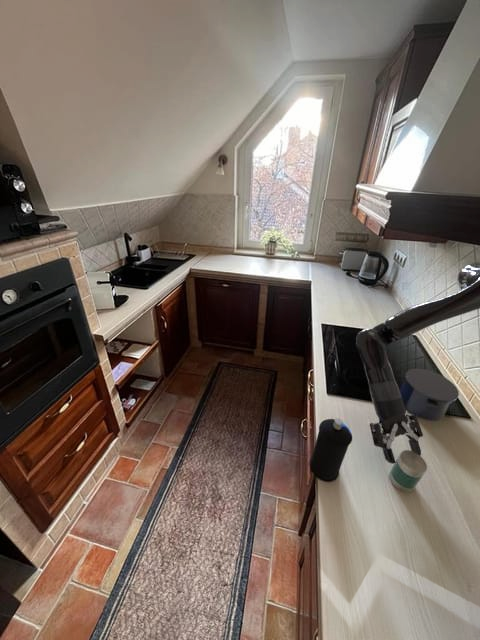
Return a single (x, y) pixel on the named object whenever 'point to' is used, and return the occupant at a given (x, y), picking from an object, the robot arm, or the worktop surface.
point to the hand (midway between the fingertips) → (404, 459)
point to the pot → (427, 394)
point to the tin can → (407, 471)
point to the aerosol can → (330, 449)
